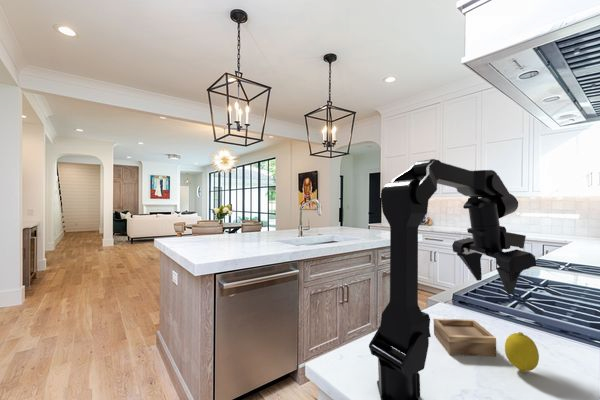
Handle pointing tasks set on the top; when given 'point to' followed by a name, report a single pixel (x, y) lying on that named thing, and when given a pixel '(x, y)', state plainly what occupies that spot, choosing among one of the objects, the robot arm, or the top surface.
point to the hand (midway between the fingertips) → (493, 286)
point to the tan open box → (464, 337)
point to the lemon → (521, 352)
